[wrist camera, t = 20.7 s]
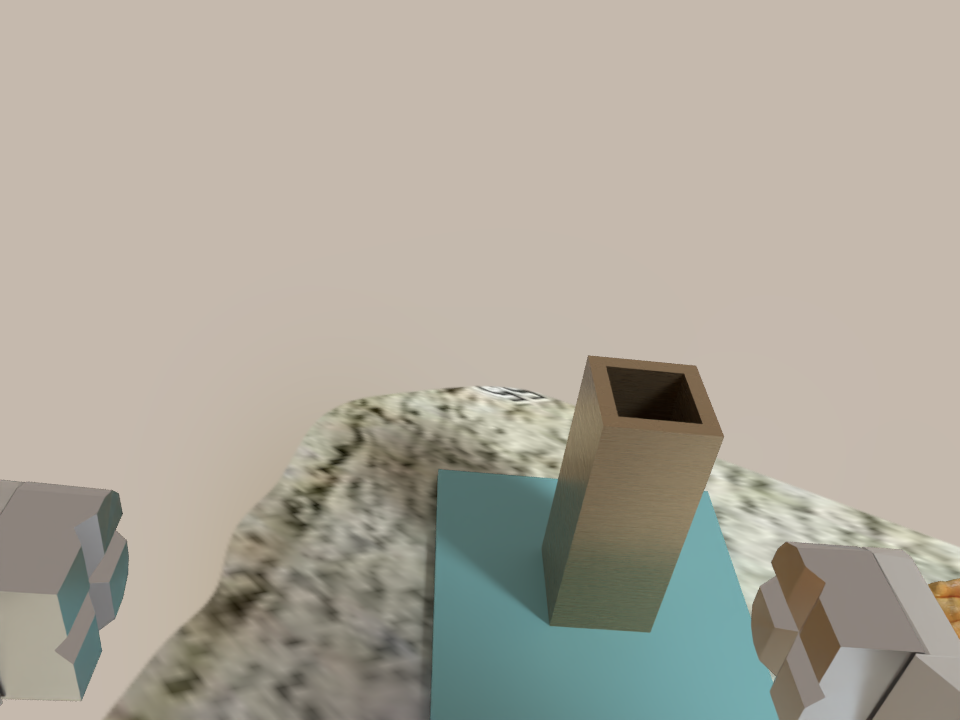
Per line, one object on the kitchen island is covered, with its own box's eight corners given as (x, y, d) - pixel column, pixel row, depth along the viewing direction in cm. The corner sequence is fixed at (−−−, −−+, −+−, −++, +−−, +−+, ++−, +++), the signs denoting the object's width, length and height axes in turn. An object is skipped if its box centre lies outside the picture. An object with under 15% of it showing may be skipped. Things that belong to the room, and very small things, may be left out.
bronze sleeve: (633, 555, 51) (696, 365, 43) (650, 632, 47) (724, 436, 39) (541, 548, 51) (588, 355, 43) (549, 626, 46) (603, 426, 38)
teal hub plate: (705, 497, 57) (725, 443, 55) (790, 752, 43) (824, 694, 40) (437, 476, 56) (445, 418, 53) (429, 732, 41) (439, 671, 38)
